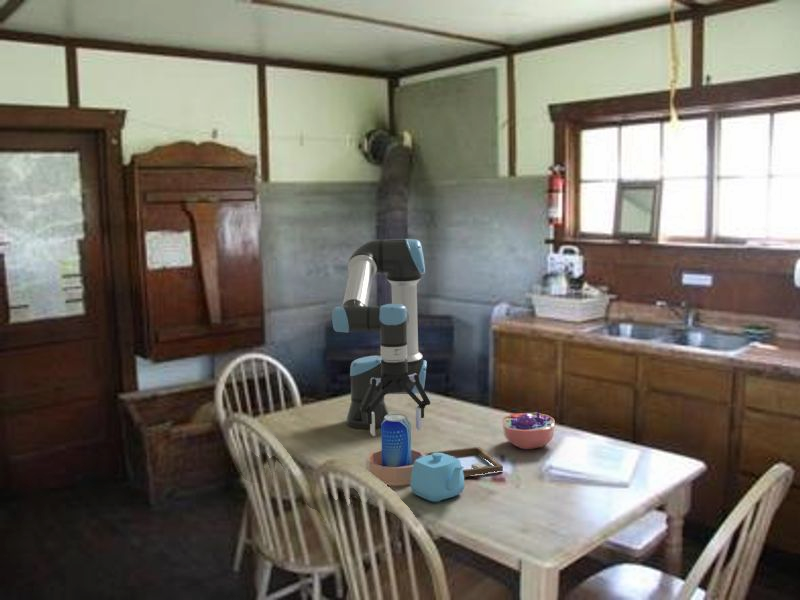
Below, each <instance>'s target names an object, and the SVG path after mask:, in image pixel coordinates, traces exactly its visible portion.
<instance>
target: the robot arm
mask: <svg viewBox="0 0 800 600" xmlns="http://www.w3.org/2000/svg"><path fill="white" fill-rule="evenodd" d="M422 246H423V245H422V243H421V242H420V240H418V239H412V238H393V239H392V238H391V239H373V240H370V241H367V242H365V243H363V244H362V245H360V246H359V247H358V248H357V249H356V250H354V252H353V253H352V254H351V256H350V258H349V259H348V260H349V261H348V264H347V271H348V273H349V274H348V279H347V284H346V287H345V292H344V297H343V302H342V305H340V306H336V307H334V308H333V309H332V315H331V316H332V319H331V321H332V327H333V331H335V332H336V333H337V332H338V333H365V332H366V333H369V332H370V333H380V334H379V335H380V336H379V337H380V346H379V347H380V355H369V356H362V357H359V358H357V359H354V360H353V361H352V362H351V363H350V370H349V371H350V372H349V377H350V405H349V408H348V412H347V416H346V425H347V426H348V427H351V428H354V429H361V430H369V431H370V434H371V436H372V437H376V429H379V428H381V424H382V422H383V421H384V417H385V416H386V415H388V414H390V413H389V410H388V407H387V405H386V402H385V396H387V395H409V397H411V399H413V401H414V402H415V403H416V404H417V405H415V428H416V429H417V430H418V431H422V419H424V418H425V409H426V406H430V405H431V400H430V399H429V397H428V395H427V393H426V391H425V390H424V389H425V384H426V383H425V382H426V375H427V367H428V364H427V363H428V362H427V361H428V360H425V359H424V357H423V354H422V353H421V352H420V351H419V334H418V333H419V332H418V330H419V329H418V328H419V327H418V325H419V324H418V321H419V320H418V288H417V287H418V285H417V284H418V282H420V281H421V279H422V275H424V274H425V273H426V267H425V265H426V264H425V257H424V251H423V247H422ZM376 275H386V280H387V281H388V282H389V284H390V285H391V303H386V304H383V305H376V306H375V305H372V306H371V305H369V301H370V294H371V288H372V283H373V278H374V277H375V276H376ZM416 394H417V395H420V397H421V399H422V400H420V399H419V397H418V396H417V395H416Z"/></svg>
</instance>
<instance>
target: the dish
mask: <svg viewBox="0 0 800 600" xmlns="http://www.w3.org/2000/svg"><path fill="white" fill-rule="evenodd" d="M424 453H425V452H424V451H421V450H418V449H415V448H411V466H403V467H386V466H382V448H381V449H378V450H376V451H372V452H370V453H369V454H368V455H367V456H366V458H365V470H366V469H367V470H368V471H369V472H371V473H372V474H373V475H375V476H376V477H377V478H379V479H380V480H381V481H383V482H384V483H385V484H387V485H389V486H388V487H404V486H411V473H412V469H413V465H414V461H415V460H417V459H418V458H419V457H420V456H423V455H425V454H424ZM425 456H426V455H425Z"/></svg>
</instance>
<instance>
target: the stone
mask: <svg viewBox="0 0 800 600" xmlns="http://www.w3.org/2000/svg"><path fill="white" fill-rule="evenodd" d="M482 467H488V465H487V464H484V463H481V462H475V463H471V469H472V468H473V469H474V468H482Z"/></svg>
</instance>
